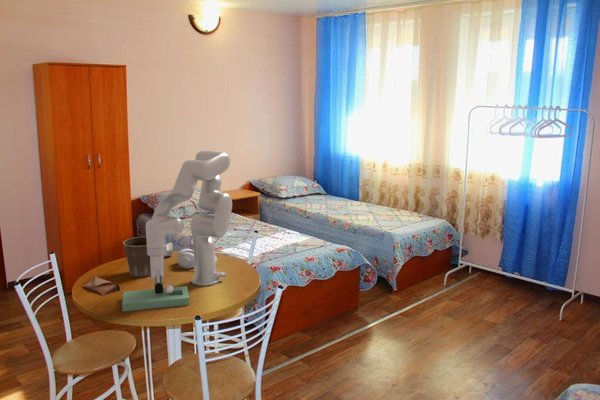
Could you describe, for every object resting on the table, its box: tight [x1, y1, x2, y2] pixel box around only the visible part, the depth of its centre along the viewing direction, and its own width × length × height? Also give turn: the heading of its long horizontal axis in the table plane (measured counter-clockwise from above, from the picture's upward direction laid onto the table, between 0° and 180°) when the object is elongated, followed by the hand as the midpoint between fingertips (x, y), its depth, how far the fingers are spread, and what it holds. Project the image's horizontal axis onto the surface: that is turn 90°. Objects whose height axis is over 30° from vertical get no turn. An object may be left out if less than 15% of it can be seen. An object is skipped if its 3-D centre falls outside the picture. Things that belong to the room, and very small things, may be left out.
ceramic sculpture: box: [164, 241, 174, 258], centre depth 275 cm, size 11×9×15 cm
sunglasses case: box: [81, 275, 121, 297], centre depth 232 cm, size 18×7×7 cm, turn 54°
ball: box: [164, 284, 174, 293], centre depth 218 cm, size 4×4×4 cm
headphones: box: [176, 248, 218, 269], centre depth 265 cm, size 18×8×20 cm
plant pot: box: [122, 236, 151, 278], centre depth 250 cm, size 16×16×16 cm
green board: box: [121, 285, 190, 313], centre depth 217 cm, size 26×14×3 cm, turn 105°
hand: (159, 292), depth 217 cm, fingers closed
